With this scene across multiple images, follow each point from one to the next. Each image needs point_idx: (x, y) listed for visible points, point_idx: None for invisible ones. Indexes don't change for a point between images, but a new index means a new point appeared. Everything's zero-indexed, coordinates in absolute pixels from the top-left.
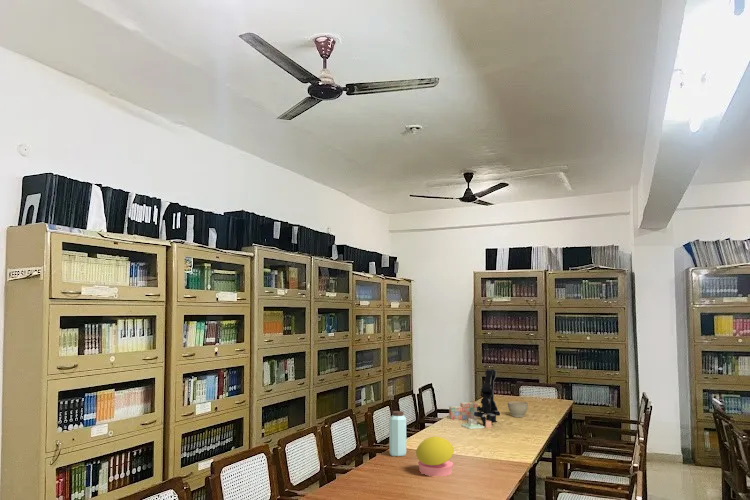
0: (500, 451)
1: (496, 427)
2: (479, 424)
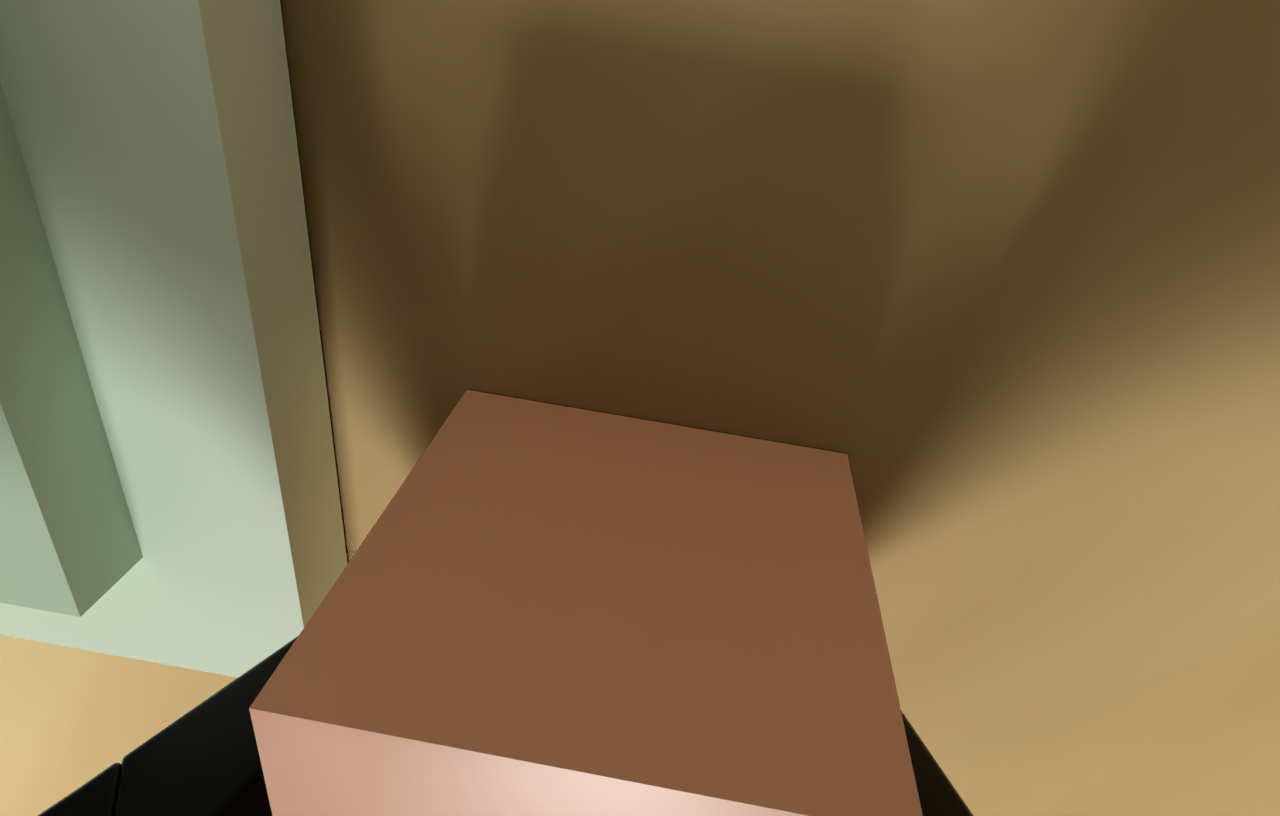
0: None
1: (1001, 787)
2: (41, 577)
